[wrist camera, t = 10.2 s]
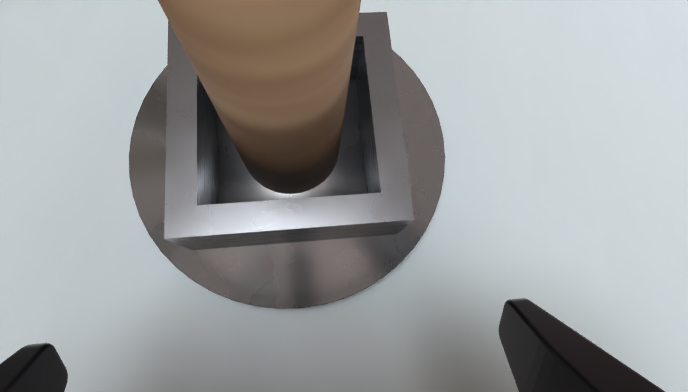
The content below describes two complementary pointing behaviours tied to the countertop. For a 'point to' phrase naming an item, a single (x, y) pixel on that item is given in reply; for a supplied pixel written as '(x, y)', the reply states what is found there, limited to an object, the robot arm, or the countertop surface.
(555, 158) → the countertop surface
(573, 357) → the robot arm
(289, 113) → the pin
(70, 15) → the countertop surface
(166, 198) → the square socket on disc
